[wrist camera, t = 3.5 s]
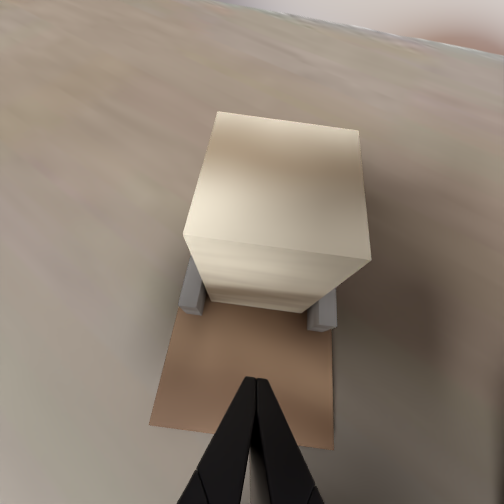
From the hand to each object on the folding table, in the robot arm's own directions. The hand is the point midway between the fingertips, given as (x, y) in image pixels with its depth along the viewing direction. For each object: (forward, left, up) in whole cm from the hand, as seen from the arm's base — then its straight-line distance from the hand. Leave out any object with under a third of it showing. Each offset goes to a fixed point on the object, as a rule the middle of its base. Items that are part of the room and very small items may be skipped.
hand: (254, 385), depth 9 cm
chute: (+7, +5, -7) cm, 10 cm away
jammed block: (+6, +4, -6) cm, 9 cm away
